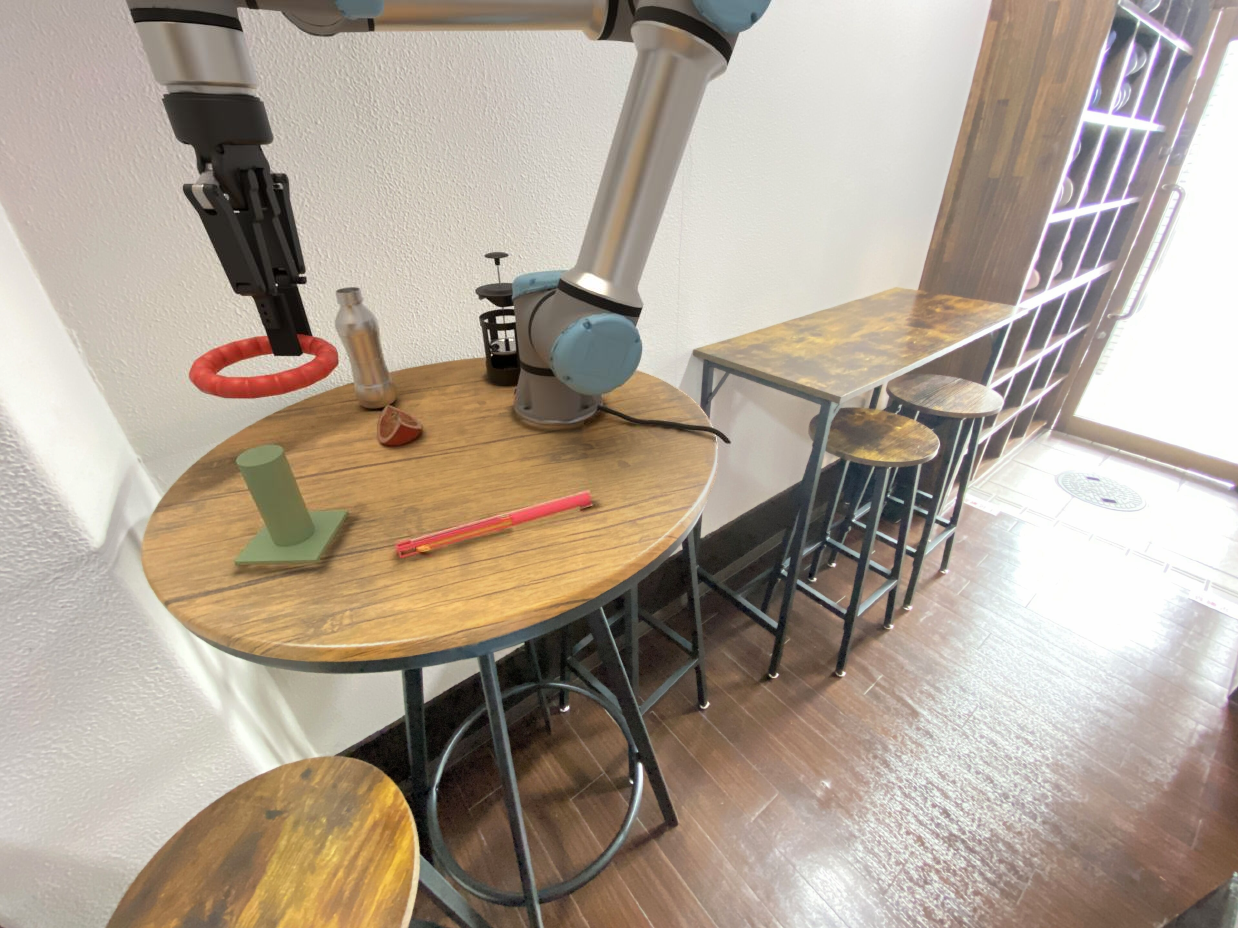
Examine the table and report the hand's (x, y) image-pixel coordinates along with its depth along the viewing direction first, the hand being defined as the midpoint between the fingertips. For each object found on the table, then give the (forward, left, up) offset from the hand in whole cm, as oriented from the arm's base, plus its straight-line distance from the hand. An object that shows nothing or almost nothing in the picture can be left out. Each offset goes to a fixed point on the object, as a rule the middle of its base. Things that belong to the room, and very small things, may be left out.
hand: (295, 349), depth 59 cm
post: (+3, +8, -21) cm, 23 cm away
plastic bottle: (+6, -29, -21) cm, 36 cm away
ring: (0, +5, +1) cm, 5 cm away
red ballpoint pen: (-21, +6, -21) cm, 31 cm away
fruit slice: (-2, -16, -21) cm, 27 cm away
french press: (-16, -41, -21) cm, 49 cm away
